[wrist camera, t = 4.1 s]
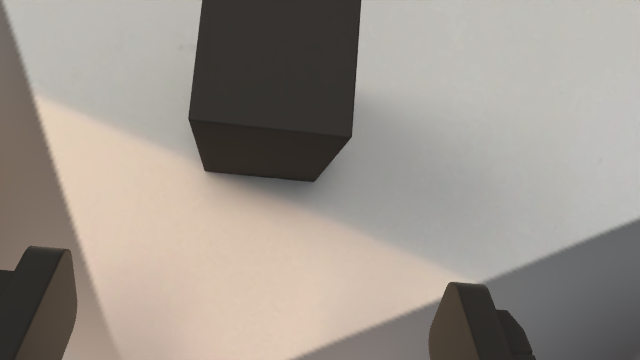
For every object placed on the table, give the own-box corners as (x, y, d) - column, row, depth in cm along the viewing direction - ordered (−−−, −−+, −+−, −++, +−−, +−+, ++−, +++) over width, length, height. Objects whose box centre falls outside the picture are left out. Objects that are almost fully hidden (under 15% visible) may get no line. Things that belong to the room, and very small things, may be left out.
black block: (204, 171, 24) (187, 120, 16) (216, 65, 24) (206, -35, 16) (314, 182, 24) (351, 137, 16) (323, 78, 25) (362, -12, 17)
